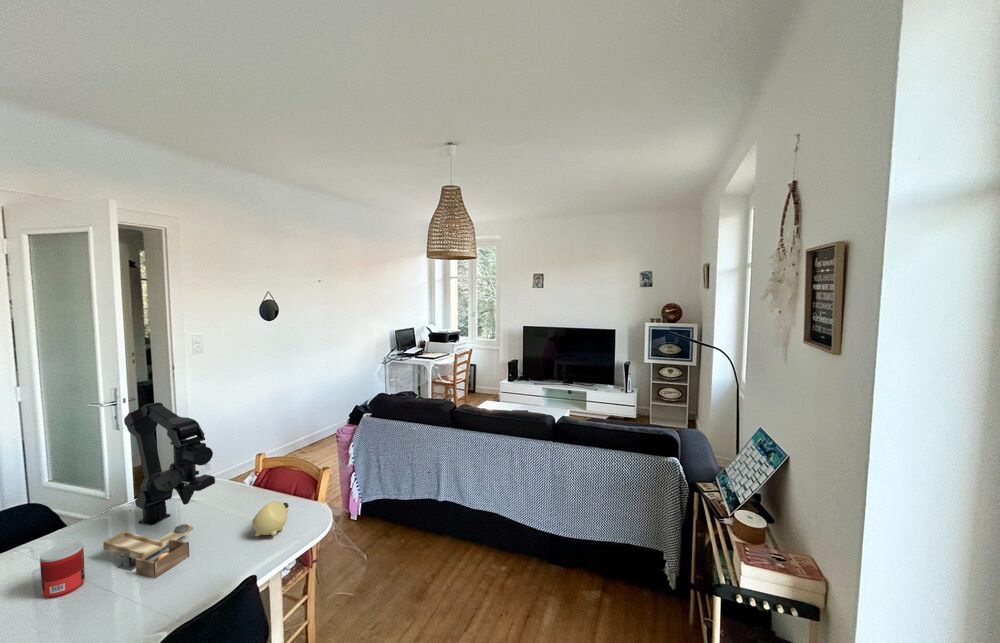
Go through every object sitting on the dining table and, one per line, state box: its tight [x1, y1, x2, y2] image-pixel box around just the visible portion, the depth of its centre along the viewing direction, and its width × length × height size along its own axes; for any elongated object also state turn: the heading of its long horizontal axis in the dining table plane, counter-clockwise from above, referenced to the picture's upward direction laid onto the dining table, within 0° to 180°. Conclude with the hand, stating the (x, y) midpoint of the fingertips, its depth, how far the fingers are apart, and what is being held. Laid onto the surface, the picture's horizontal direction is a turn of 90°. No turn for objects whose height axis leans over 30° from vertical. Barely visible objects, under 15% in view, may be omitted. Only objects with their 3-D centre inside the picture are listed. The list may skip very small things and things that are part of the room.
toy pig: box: [251, 500, 289, 537], centre depth 138 cm, size 10×12×11 cm
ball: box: [157, 552, 169, 560], centre depth 121 cm, size 3×3×3 cm
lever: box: [103, 523, 194, 559], centre depth 128 cm, size 15×16×2 cm
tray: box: [135, 539, 190, 579], centre depth 121 cm, size 7×10×4 cm
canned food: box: [39, 541, 86, 600], centre depth 110 cm, size 8×8×11 cm
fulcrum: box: [117, 537, 162, 572], centre depth 123 cm, size 5×8×4 cm, turn 168°
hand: (185, 503), depth 136 cm, fingers closed
